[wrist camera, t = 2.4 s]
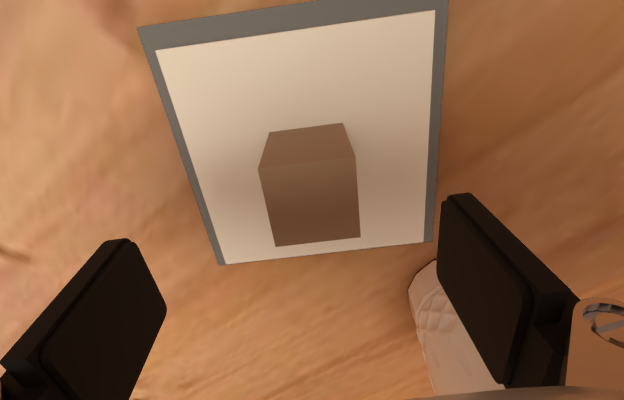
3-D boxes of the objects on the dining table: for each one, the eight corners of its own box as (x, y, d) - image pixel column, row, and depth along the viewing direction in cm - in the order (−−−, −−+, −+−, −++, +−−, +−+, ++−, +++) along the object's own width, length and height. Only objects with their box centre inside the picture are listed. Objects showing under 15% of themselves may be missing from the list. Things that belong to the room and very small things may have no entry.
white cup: (525, 293, 24) (651, 449, 15) (430, 338, 26) (493, 497, 17) (481, 224, 21) (608, 371, 12) (378, 282, 23) (423, 441, 14)
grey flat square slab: (444, -18, 14) (450, -20, 14) (429, 236, 21) (432, 241, 21) (142, 27, 15) (136, 27, 14) (220, 259, 22) (218, 265, 21)
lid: (425, 11, 14) (489, 4, 9) (417, 230, 20) (454, 298, 15) (165, 48, 15) (96, 62, 10) (229, 252, 21) (206, 325, 16)
